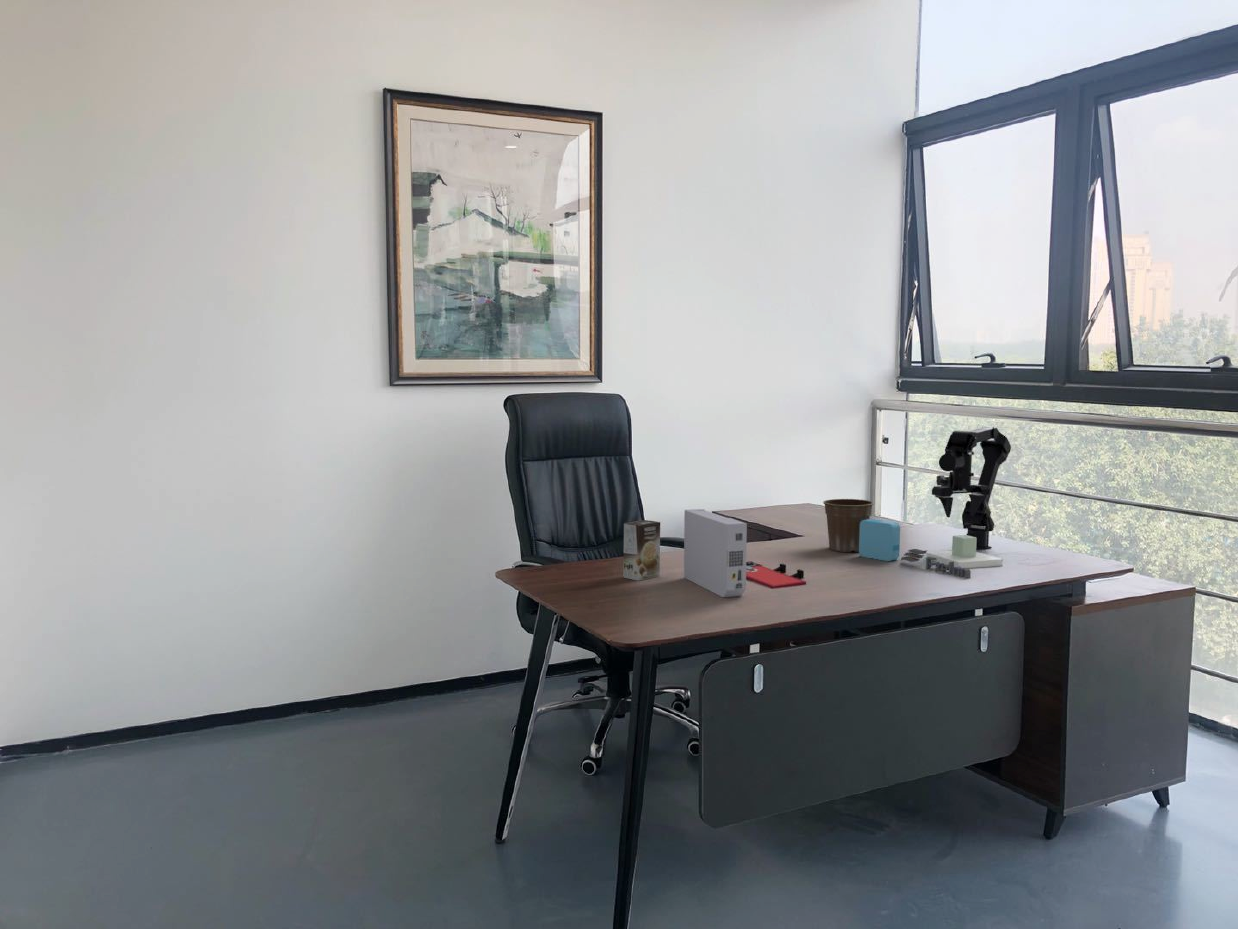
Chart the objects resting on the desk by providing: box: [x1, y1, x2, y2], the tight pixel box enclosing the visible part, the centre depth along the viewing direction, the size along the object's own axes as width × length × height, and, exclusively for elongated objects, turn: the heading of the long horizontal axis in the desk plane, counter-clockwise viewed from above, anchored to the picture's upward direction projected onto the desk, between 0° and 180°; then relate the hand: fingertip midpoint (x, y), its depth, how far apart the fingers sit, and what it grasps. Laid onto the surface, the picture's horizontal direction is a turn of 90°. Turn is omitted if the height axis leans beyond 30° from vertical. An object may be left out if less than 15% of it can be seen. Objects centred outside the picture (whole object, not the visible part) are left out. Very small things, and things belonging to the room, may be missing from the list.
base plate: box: [925, 550, 1004, 569], centre depth 289 cm, size 16×16×2 cm
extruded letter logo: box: [900, 548, 972, 579], centre depth 277 cm, size 25×2×6 cm, turn 30°
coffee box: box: [622, 519, 661, 582], centre depth 267 cm, size 9×6×16 cm
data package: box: [858, 518, 901, 562], centre depth 294 cm, size 12×4×12 cm, turn 43°
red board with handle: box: [746, 561, 807, 589], centre depth 270 cm, size 30×3×15 cm
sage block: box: [951, 534, 977, 558], centre depth 288 cm, size 5×5×6 cm
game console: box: [683, 508, 748, 598], centre depth 254 cm, size 6×27×20 cm, turn 20°
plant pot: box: [822, 498, 874, 553], centre depth 309 cm, size 16×16×16 cm
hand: (960, 516), depth 302 cm, fingers open, 9 cm apart
